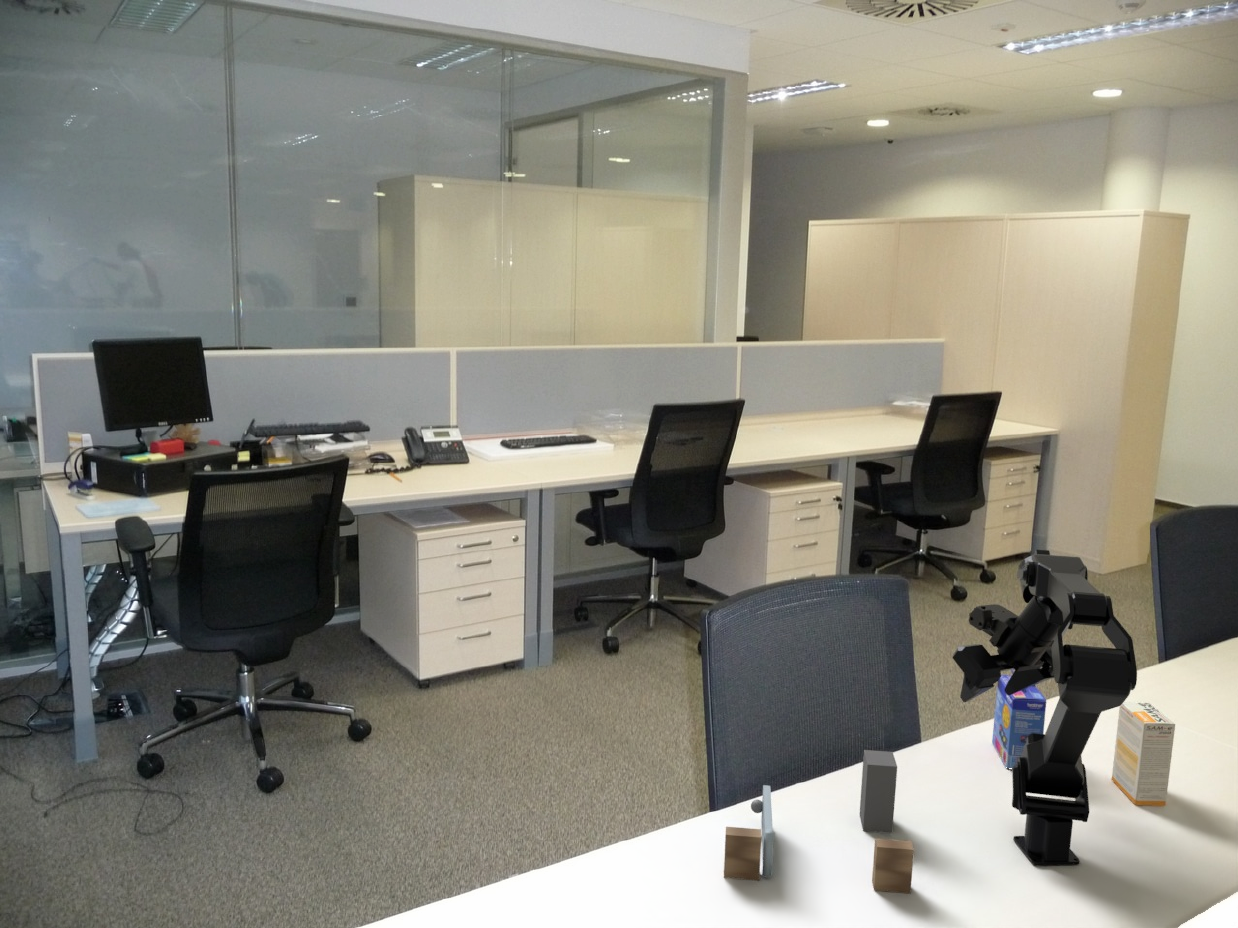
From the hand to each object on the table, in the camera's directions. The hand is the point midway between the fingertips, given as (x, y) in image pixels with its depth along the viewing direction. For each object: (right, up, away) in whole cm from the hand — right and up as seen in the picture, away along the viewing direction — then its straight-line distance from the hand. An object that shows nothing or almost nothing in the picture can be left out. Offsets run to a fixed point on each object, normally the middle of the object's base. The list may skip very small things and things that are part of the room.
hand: (985, 696), depth 159 cm
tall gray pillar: (-20, -16, -11) cm, 27 cm away
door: (-37, -16, -19) cm, 45 cm away
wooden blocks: (-30, -18, -26) cm, 44 cm away
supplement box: (+23, -15, -1) cm, 27 cm away
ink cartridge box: (+8, -12, +10) cm, 18 cm away
